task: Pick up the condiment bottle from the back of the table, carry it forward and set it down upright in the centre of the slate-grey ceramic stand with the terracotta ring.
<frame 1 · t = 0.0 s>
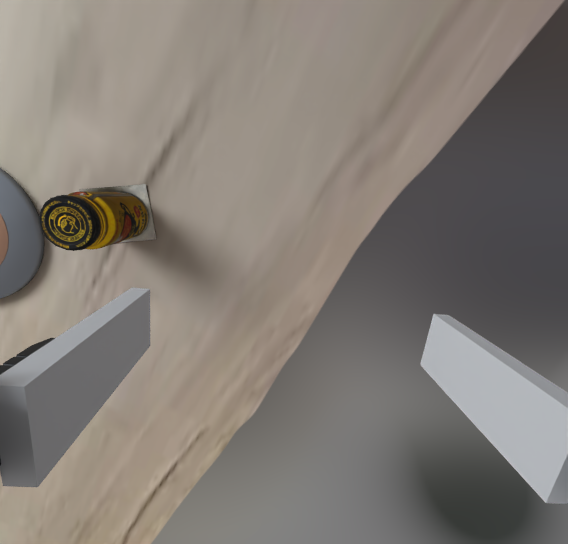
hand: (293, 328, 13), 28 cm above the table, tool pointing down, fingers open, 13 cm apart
condiment: (120, 214, 38), on the table
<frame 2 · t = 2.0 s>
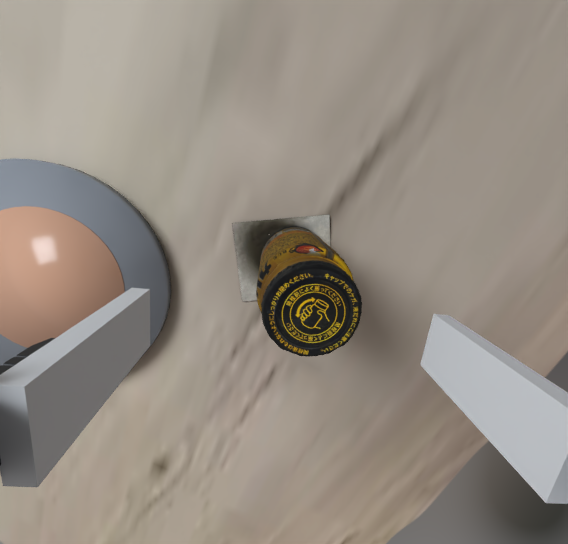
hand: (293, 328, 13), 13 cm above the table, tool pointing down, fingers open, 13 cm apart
condiment: (284, 258, 26), on the table
ring stand: (55, 280, 25), on the table
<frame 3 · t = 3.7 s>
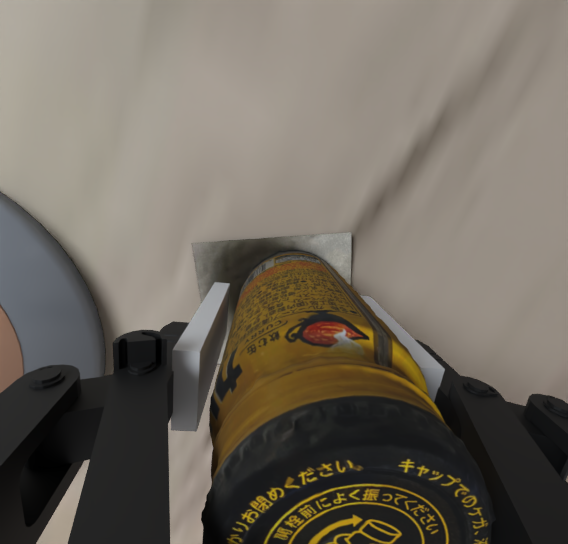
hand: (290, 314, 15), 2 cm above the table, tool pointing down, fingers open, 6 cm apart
condiment: (276, 299, 16), on the table, touching gripper
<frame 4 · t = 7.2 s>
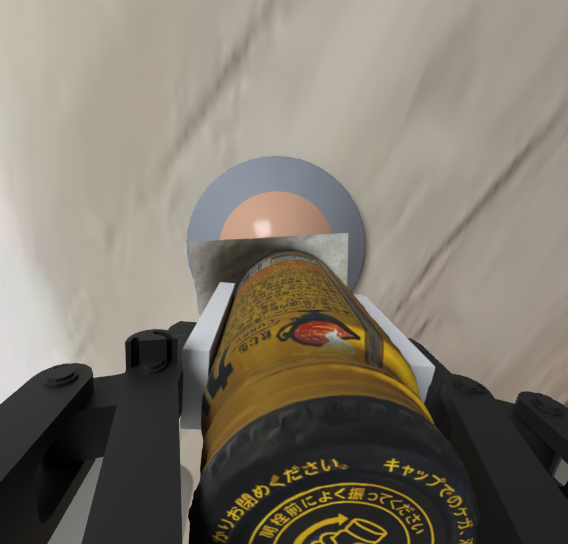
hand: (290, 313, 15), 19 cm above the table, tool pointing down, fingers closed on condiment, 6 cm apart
condiment: (273, 298, 16), point 17 cm above the table, touching gripper
ring stand: (277, 249, 33), on the table
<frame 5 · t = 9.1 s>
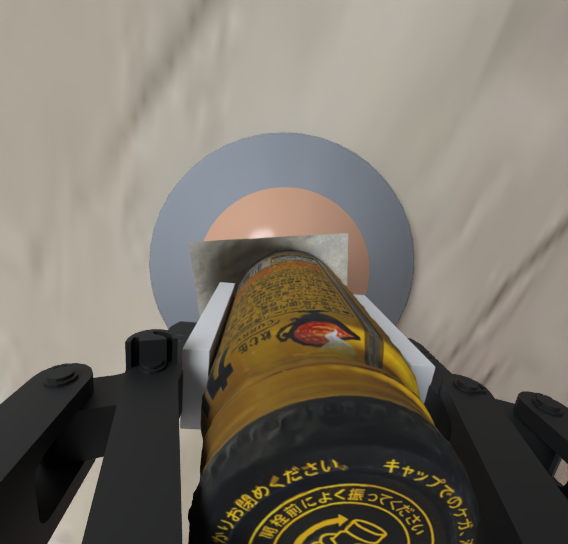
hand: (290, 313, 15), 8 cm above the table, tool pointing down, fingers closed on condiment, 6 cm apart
condiment: (273, 298, 16), point 6 cm above the table, touching gripper
ring stand: (284, 272, 23), on the table
when the fingers open (4 cm above the table, at t = 10.7 s): condiment drops 1 cm, resting on ring stand.
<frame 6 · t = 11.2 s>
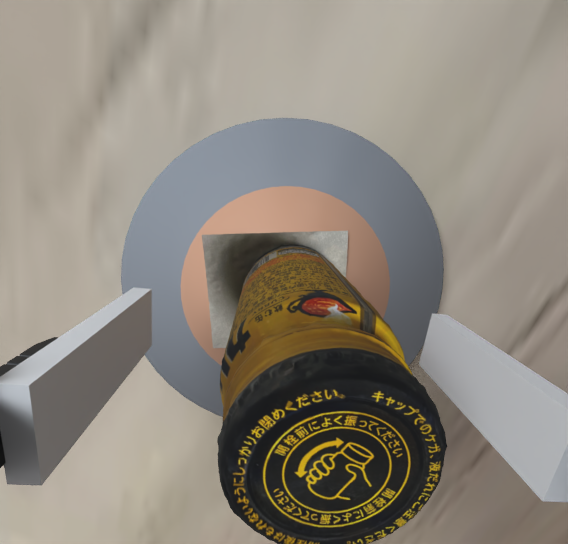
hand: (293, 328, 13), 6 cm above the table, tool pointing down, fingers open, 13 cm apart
condiment: (277, 289, 18), point 1 cm above the table, touching ring stand
ring stand: (285, 288, 19), on the table
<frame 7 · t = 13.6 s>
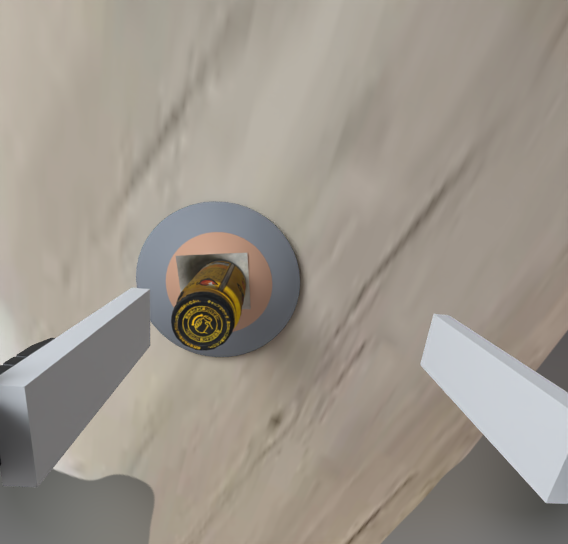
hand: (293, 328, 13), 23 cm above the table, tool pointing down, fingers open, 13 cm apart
condiment: (215, 282, 35), point 1 cm above the table, touching ring stand
ring stand: (221, 281, 36), on the table
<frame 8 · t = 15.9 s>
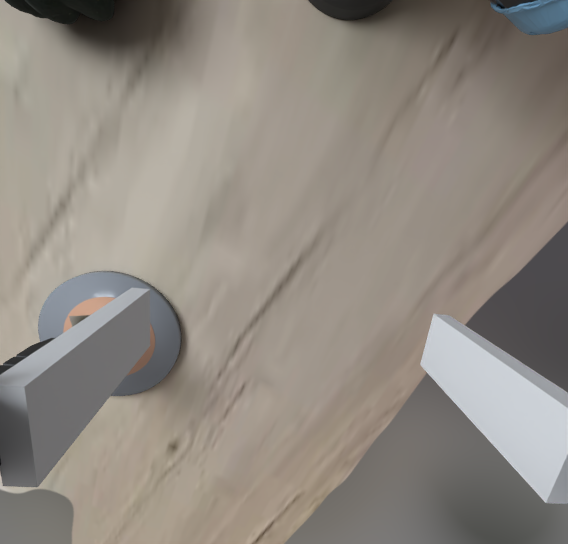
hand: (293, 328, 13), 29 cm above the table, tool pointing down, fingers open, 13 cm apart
ring stand: (114, 334, 43), on the table
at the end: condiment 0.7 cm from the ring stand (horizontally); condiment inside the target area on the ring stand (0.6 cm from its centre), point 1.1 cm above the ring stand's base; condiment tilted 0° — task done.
